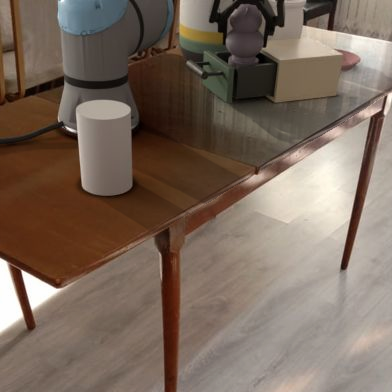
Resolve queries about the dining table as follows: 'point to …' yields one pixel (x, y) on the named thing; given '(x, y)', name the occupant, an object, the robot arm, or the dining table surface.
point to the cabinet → (303, 69)
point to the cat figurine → (245, 36)
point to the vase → (199, 30)
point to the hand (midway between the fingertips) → (244, 40)
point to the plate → (348, 60)
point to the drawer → (236, 76)
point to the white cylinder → (105, 146)
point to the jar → (287, 20)
